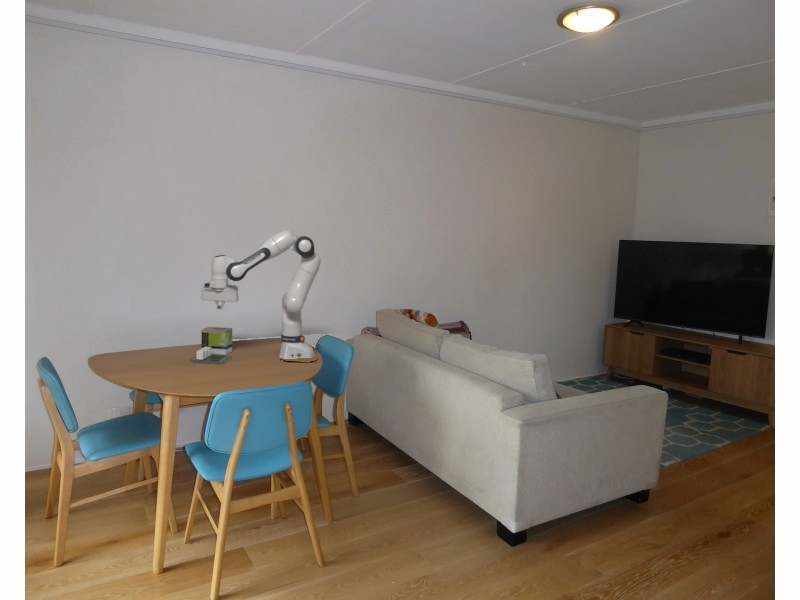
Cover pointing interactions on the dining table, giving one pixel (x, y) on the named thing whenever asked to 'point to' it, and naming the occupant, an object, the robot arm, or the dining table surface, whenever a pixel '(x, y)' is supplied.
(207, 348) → the block
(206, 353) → the block
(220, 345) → the tea box
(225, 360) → the panel
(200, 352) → the breaker
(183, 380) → the dining table surface
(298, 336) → the robot arm
